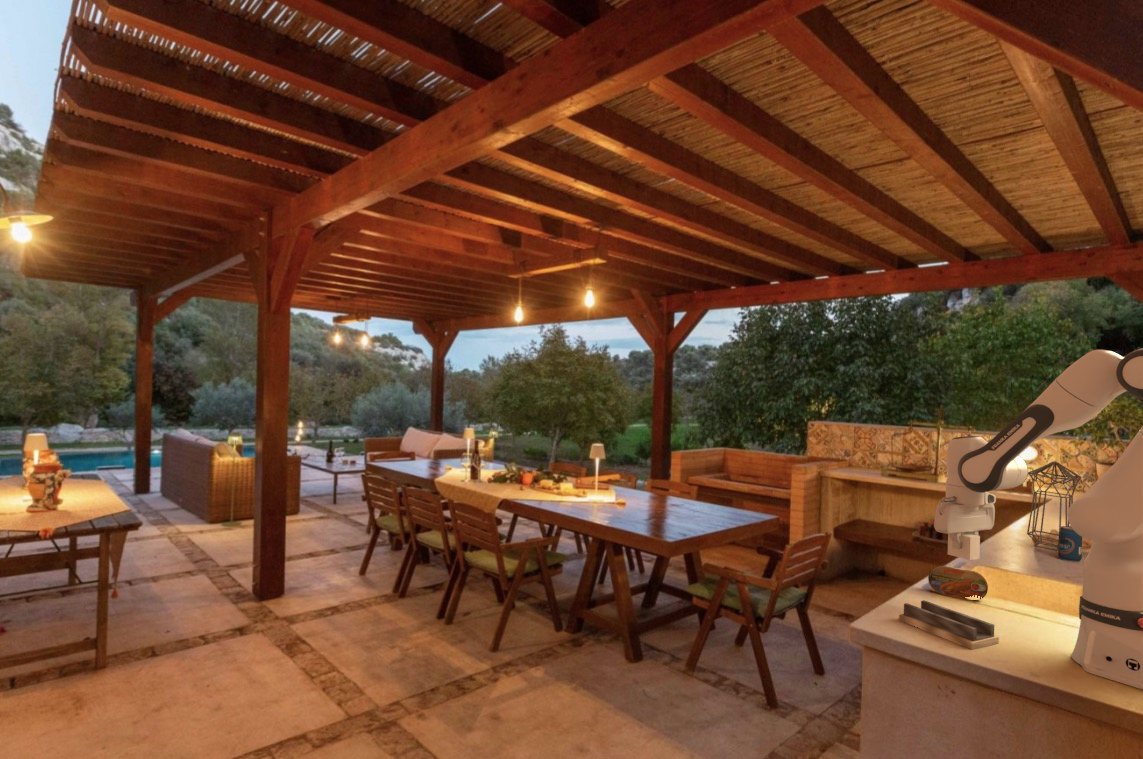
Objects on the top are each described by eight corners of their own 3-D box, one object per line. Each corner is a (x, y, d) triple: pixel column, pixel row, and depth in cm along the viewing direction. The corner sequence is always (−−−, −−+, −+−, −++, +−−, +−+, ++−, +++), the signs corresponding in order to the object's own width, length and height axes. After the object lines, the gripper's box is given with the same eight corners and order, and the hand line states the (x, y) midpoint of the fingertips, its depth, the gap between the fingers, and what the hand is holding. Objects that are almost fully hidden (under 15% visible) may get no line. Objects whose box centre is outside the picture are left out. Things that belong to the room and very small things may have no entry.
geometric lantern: (1031, 540, 262) (1036, 458, 262) (1078, 550, 250) (1084, 463, 250) (1020, 545, 252) (1026, 459, 252) (1069, 555, 240) (1075, 465, 240)
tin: (927, 591, 188) (928, 563, 188) (929, 589, 190) (930, 561, 190) (987, 604, 178) (988, 574, 178) (988, 601, 180) (989, 572, 180)
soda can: (1053, 558, 234) (1054, 526, 234) (1064, 556, 237) (1065, 525, 237) (1075, 563, 228) (1076, 530, 228) (1085, 561, 231) (1086, 529, 231)
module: (979, 558, 164) (979, 536, 164) (969, 560, 162) (970, 537, 162) (957, 553, 170) (957, 531, 170) (947, 554, 168) (948, 532, 168)
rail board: (998, 643, 149) (999, 625, 149) (972, 649, 145) (973, 630, 145) (924, 615, 166) (924, 599, 166) (899, 620, 162) (899, 603, 162)
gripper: (951, 499, 159) (950, 553, 159) (1000, 496, 168) (999, 547, 167) (928, 495, 165) (927, 548, 164) (976, 492, 173) (975, 542, 173)
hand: (963, 547), depth 166 cm, fingers closed on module, 4 cm apart
